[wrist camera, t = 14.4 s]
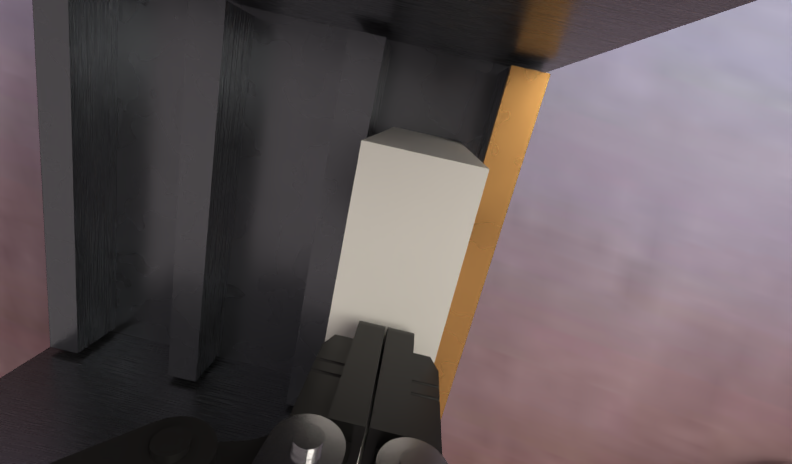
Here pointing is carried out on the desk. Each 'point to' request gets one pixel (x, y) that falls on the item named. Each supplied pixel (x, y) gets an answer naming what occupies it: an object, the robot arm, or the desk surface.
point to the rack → (255, 186)
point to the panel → (406, 235)
